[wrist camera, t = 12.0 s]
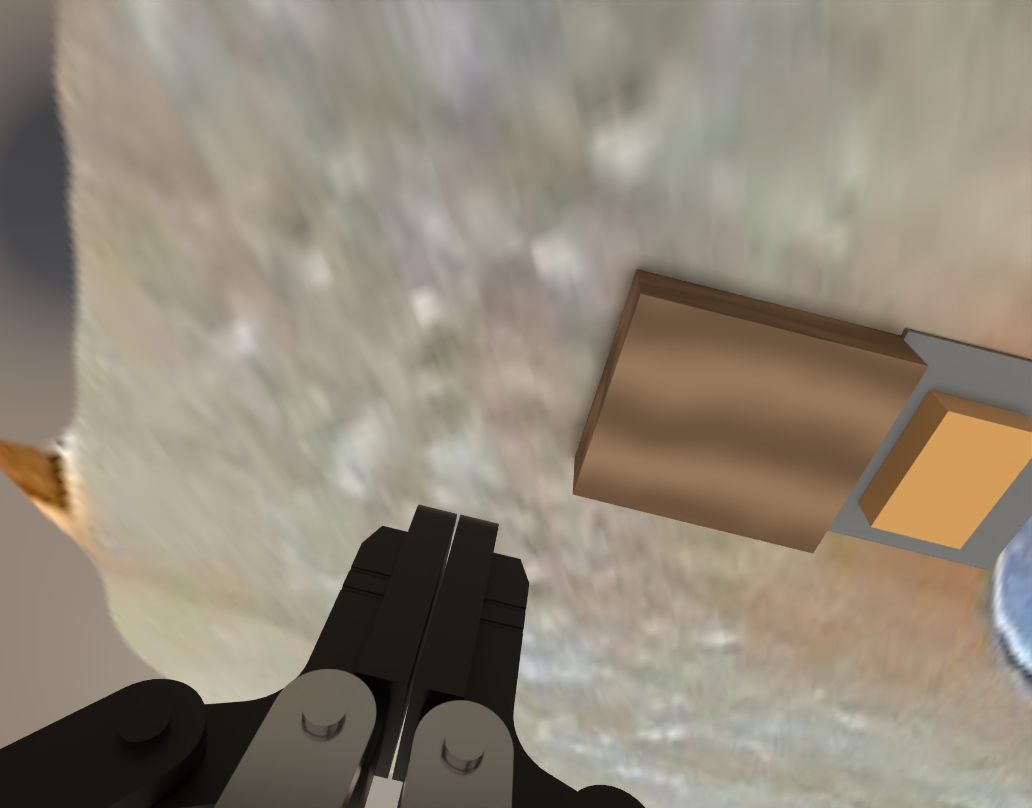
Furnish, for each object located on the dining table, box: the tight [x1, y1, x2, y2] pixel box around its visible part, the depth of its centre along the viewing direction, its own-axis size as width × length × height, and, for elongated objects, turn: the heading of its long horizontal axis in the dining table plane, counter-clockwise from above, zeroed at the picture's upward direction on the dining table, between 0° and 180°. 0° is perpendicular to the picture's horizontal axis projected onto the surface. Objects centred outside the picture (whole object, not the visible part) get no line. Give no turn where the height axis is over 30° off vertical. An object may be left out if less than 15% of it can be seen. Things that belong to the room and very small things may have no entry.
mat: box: [827, 329, 1032, 570], centre depth 43 cm, size 15×14×1 cm
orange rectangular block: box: [858, 390, 1032, 549], centre depth 41 cm, size 9×6×2 cm, turn 167°
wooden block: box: [573, 270, 929, 553], centre depth 41 cm, size 14×16×4 cm
